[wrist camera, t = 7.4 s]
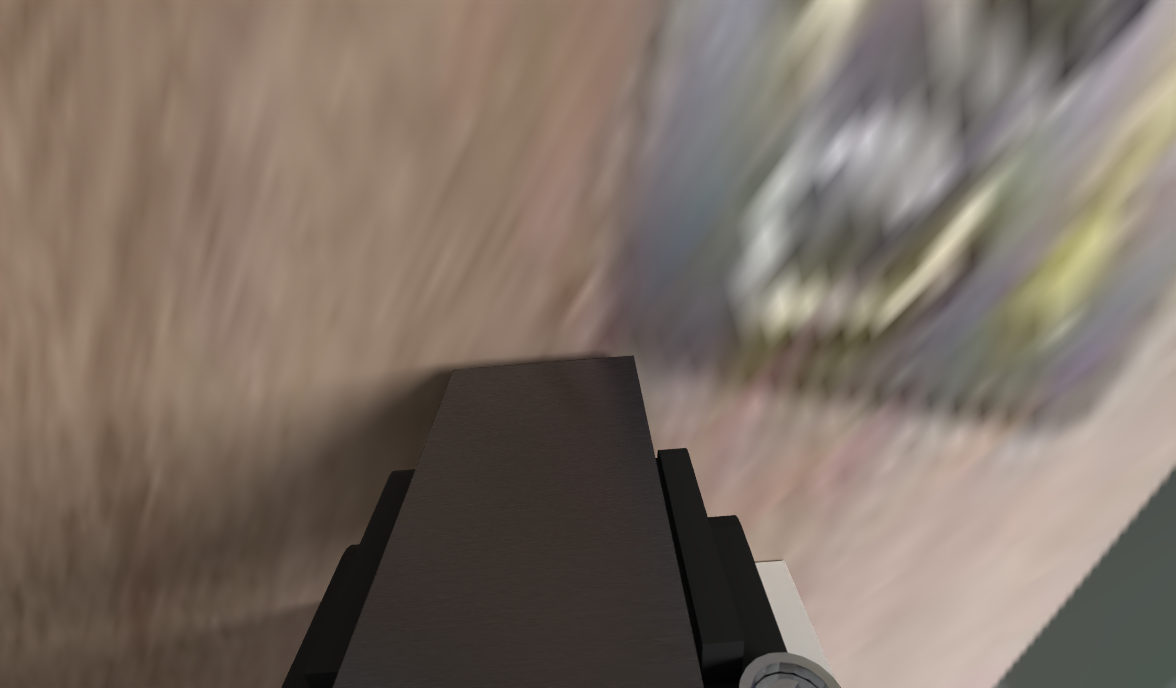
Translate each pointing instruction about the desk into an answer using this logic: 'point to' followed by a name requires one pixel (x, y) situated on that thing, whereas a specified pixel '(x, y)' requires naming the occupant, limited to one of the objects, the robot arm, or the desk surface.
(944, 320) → the desk surface
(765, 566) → the cupboard
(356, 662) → the square head mallet
